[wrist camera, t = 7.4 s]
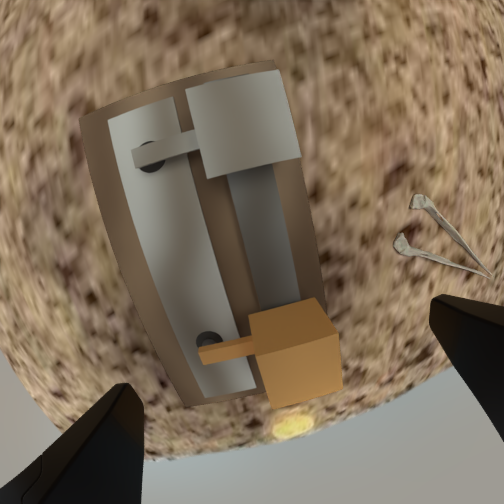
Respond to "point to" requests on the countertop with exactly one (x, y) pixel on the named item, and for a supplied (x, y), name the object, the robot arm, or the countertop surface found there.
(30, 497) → the robot arm
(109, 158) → the board
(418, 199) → the grey tweezers
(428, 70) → the countertop surface
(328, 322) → the orange block with tab
